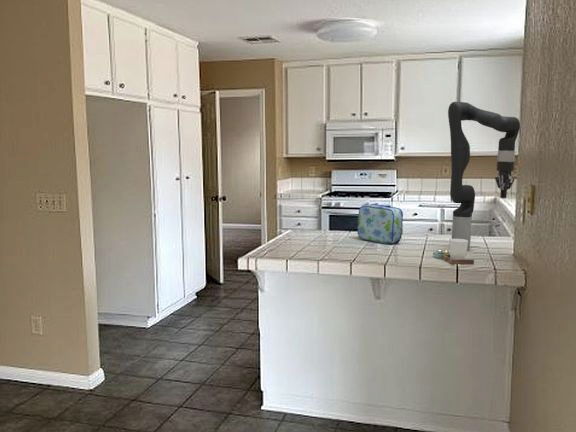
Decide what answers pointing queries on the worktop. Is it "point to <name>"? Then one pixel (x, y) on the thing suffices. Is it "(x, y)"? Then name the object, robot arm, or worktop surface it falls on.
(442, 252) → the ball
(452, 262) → the cradle
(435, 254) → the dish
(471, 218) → the robot arm
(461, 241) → the white cup
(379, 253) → the worktop surface
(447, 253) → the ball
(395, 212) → the lunch box
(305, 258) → the worktop surface
